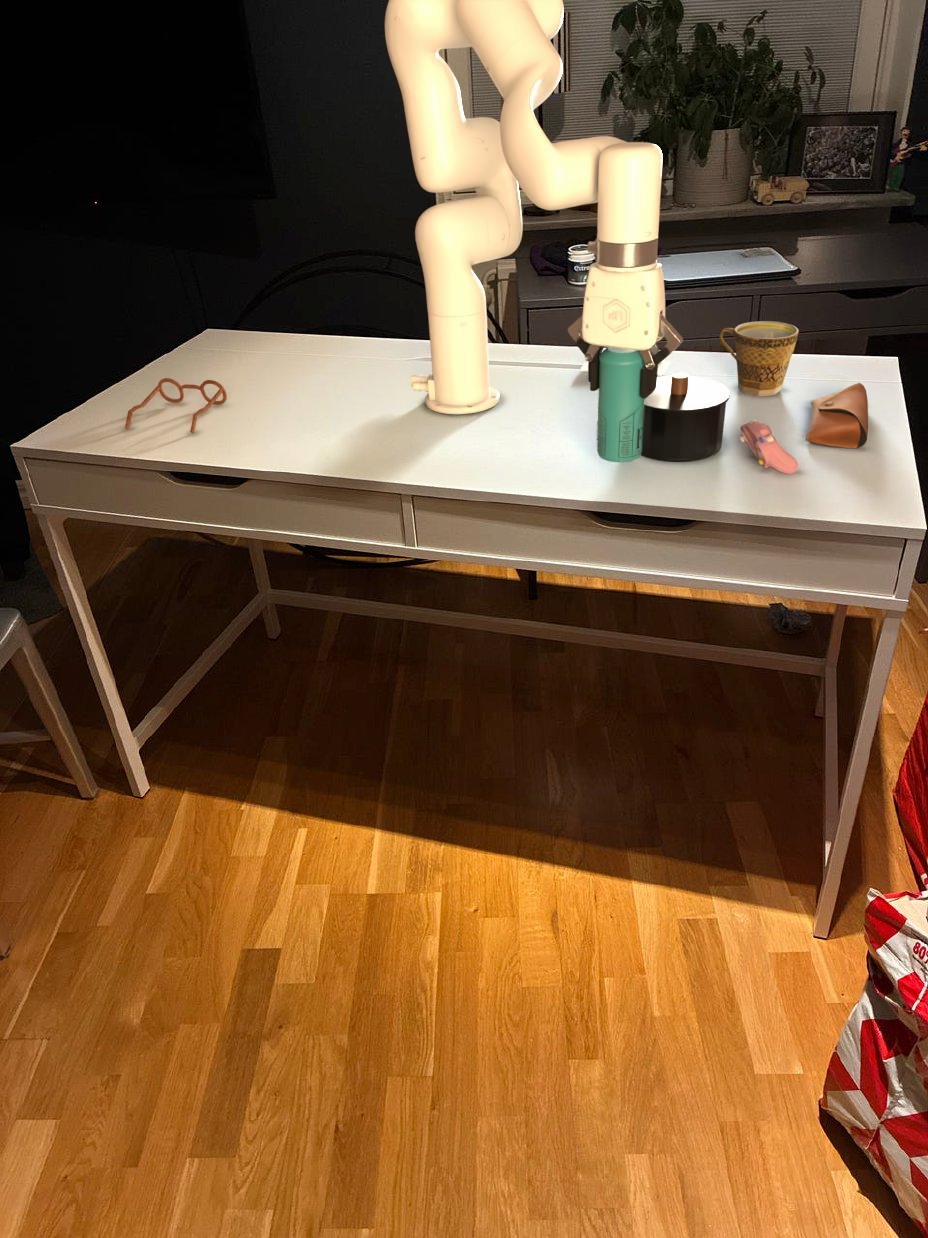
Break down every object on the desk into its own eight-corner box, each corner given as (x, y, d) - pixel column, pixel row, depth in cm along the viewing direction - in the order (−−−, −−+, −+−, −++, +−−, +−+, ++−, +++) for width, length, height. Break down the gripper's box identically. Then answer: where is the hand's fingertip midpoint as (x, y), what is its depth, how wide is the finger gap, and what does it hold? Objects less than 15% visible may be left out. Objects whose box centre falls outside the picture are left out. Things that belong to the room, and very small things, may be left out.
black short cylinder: (623, 459, 136) (625, 409, 132) (636, 425, 147) (638, 378, 143) (718, 465, 133) (723, 414, 129) (724, 429, 144) (728, 381, 140)
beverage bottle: (641, 473, 130) (649, 328, 119) (593, 472, 131) (597, 328, 120) (643, 455, 135) (651, 314, 124) (597, 453, 136) (601, 314, 125)
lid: (622, 414, 132) (623, 389, 131) (635, 381, 144) (636, 358, 142) (726, 419, 129) (728, 394, 127) (731, 385, 140) (733, 361, 138)
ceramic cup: (800, 386, 158) (809, 326, 152) (774, 403, 151) (782, 342, 146) (729, 373, 165) (735, 315, 159) (701, 389, 159) (706, 330, 153)
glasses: (230, 406, 165) (224, 378, 162) (193, 434, 154) (186, 405, 152) (164, 403, 168) (158, 375, 166) (123, 430, 158) (116, 401, 155)
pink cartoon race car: (747, 459, 138) (730, 420, 134) (776, 443, 137) (759, 404, 133) (771, 487, 129) (754, 447, 126) (802, 471, 128) (785, 430, 125)
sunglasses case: (808, 398, 151) (836, 364, 147) (844, 422, 151) (873, 389, 147) (804, 441, 137) (835, 405, 132) (844, 468, 137) (877, 432, 133)
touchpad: (663, 381, 163) (664, 368, 162) (579, 376, 168) (579, 364, 167) (670, 366, 169) (671, 354, 168) (589, 362, 174) (589, 350, 173)
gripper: (551, 255, 119) (551, 391, 129) (682, 264, 111) (672, 409, 121) (577, 242, 124) (575, 375, 134) (704, 251, 116) (692, 391, 126)
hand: (621, 390), depth 127 cm, fingers closed on beverage bottle, 6 cm apart
